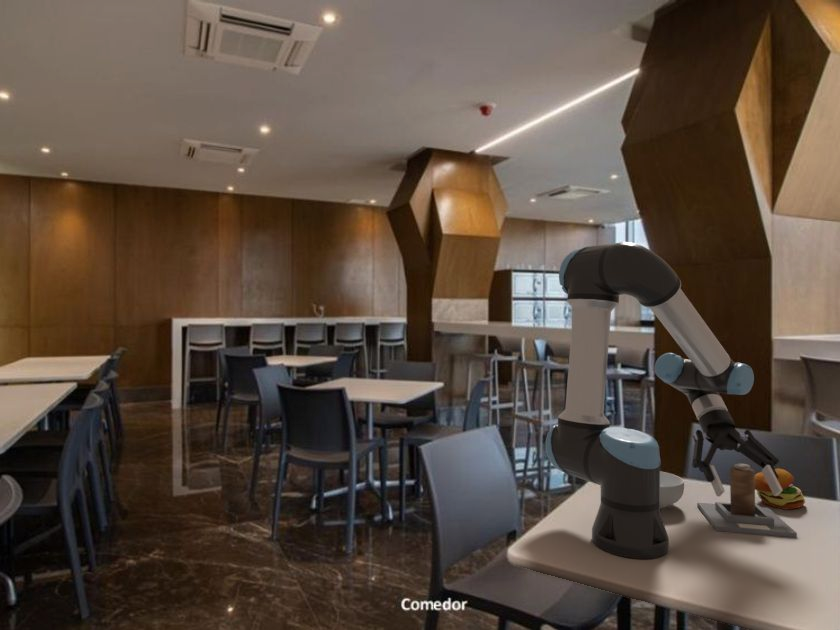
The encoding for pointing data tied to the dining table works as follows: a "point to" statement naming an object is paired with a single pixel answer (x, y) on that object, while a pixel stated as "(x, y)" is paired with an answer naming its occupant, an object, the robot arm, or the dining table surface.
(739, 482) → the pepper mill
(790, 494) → the cheeseburger
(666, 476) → the cereal bowl
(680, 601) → the dining table surface
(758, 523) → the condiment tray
